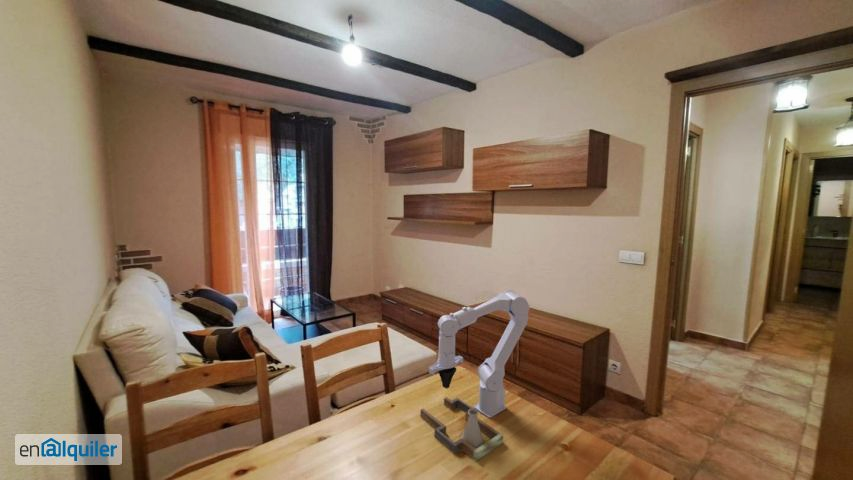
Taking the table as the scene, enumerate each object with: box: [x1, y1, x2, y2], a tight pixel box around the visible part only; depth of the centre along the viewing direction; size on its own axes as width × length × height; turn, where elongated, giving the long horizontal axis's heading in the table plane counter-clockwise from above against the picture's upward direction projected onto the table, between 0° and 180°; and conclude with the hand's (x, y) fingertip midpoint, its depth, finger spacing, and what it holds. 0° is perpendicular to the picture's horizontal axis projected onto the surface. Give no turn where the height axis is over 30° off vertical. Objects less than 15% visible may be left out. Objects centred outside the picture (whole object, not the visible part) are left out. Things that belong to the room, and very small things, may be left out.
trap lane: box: [420, 396, 504, 462], centre depth 114 cm, size 18×26×2 cm
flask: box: [460, 408, 484, 449], centre depth 108 cm, size 7×7×10 cm
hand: (445, 386), depth 121 cm, fingers closed
